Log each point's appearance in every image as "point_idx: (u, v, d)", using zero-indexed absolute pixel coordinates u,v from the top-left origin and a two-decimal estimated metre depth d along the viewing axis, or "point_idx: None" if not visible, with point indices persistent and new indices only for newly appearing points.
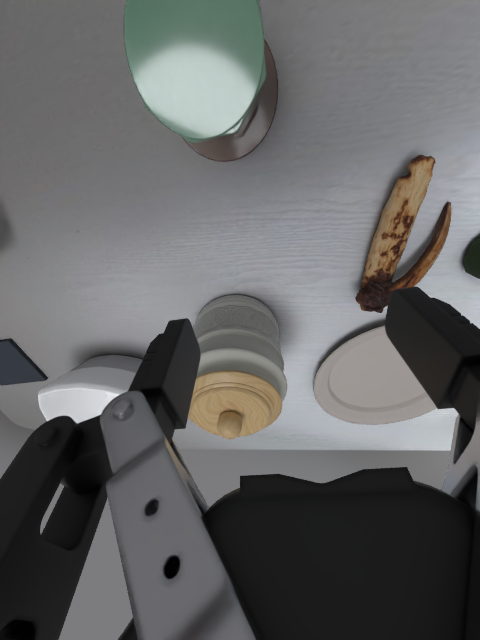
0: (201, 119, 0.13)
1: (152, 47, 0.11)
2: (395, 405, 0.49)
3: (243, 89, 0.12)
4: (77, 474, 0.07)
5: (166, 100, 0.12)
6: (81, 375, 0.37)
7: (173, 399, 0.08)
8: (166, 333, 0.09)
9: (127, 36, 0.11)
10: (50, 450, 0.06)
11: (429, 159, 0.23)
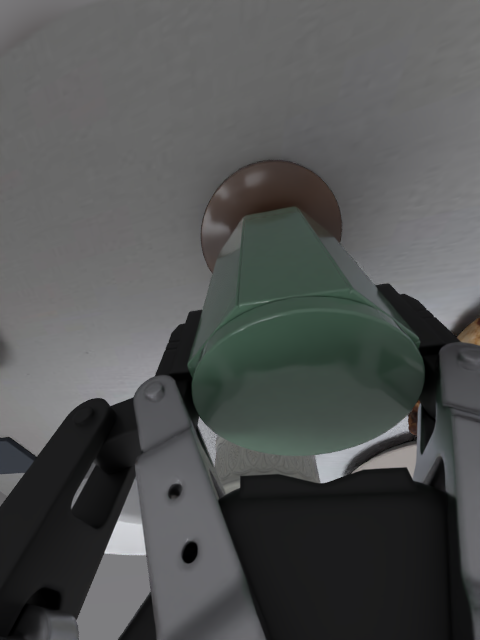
0: (295, 444, 0.09)
1: (235, 396, 0.07)
2: None
3: (369, 429, 0.08)
4: (111, 453, 0.07)
5: (246, 431, 0.08)
6: None
7: None
8: (188, 323, 0.10)
9: (197, 387, 0.07)
10: (86, 430, 0.06)
11: None
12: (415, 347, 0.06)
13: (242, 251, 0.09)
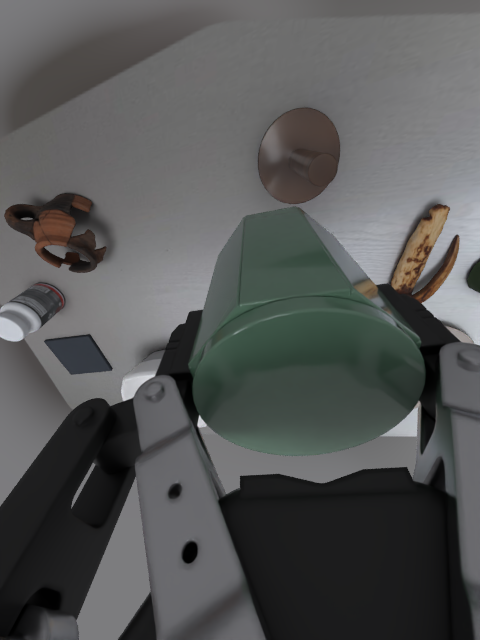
0: (295, 444, 0.09)
1: (236, 396, 0.07)
2: None
3: (370, 429, 0.08)
4: (111, 454, 0.07)
5: (247, 431, 0.08)
6: (157, 365, 0.45)
7: None
8: (188, 323, 0.10)
9: (198, 387, 0.07)
10: (85, 430, 0.06)
11: (445, 207, 0.32)
12: (416, 347, 0.06)
13: (243, 251, 0.09)
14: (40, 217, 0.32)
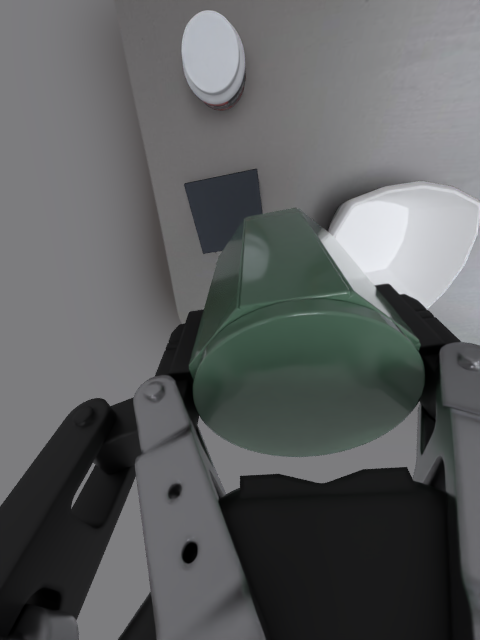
0: (295, 446, 0.09)
1: (236, 397, 0.07)
2: None
3: (369, 430, 0.08)
4: (111, 454, 0.07)
5: (247, 432, 0.08)
6: None
7: None
8: (188, 323, 0.10)
9: (198, 388, 0.07)
10: (85, 431, 0.06)
11: None
12: (415, 349, 0.06)
13: (243, 253, 0.09)
14: None
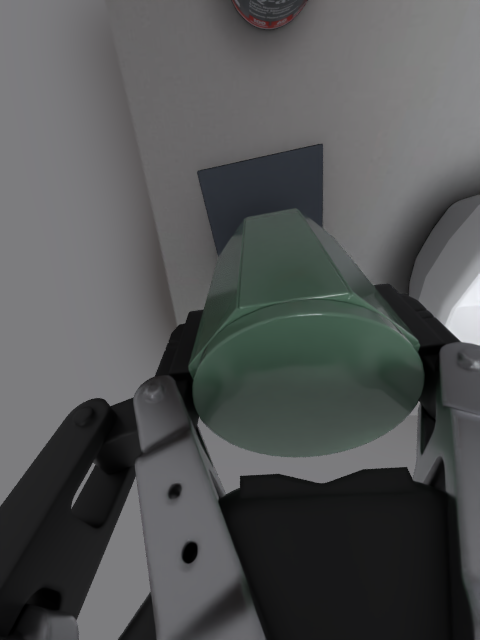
0: (295, 446, 0.09)
1: (236, 398, 0.07)
2: None
3: (369, 431, 0.08)
4: (111, 454, 0.07)
5: (246, 433, 0.08)
6: None
7: None
8: (188, 323, 0.10)
9: (198, 389, 0.07)
10: (85, 431, 0.06)
11: None
12: (414, 350, 0.06)
13: (243, 253, 0.09)
14: None
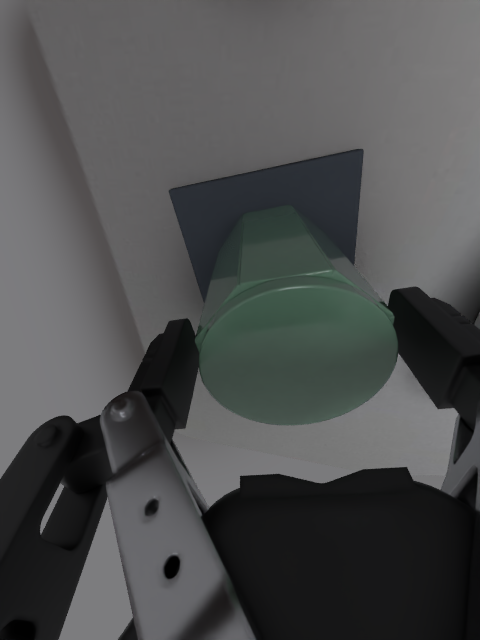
0: (289, 413, 0.10)
1: (237, 366, 0.08)
2: None
3: (354, 397, 0.09)
4: (77, 474, 0.07)
5: (246, 401, 0.09)
6: None
7: (174, 399, 0.08)
8: (166, 333, 0.09)
9: (204, 358, 0.08)
10: (50, 450, 0.06)
11: None
12: (388, 319, 0.07)
13: (242, 243, 0.10)
14: None
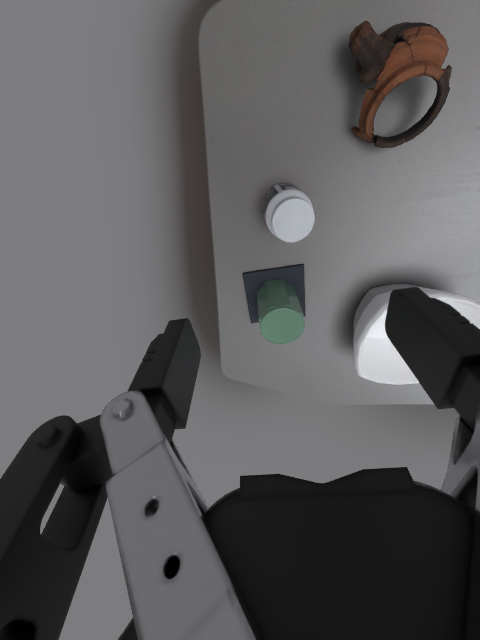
0: (280, 339, 0.37)
1: (269, 325, 0.36)
2: None
3: (296, 334, 0.37)
4: (77, 474, 0.07)
5: (270, 335, 0.37)
6: None
7: (174, 399, 0.08)
8: (166, 333, 0.09)
9: (261, 323, 0.36)
10: (50, 450, 0.06)
11: None
12: (300, 314, 0.35)
13: (268, 295, 0.38)
14: (408, 35, 0.23)
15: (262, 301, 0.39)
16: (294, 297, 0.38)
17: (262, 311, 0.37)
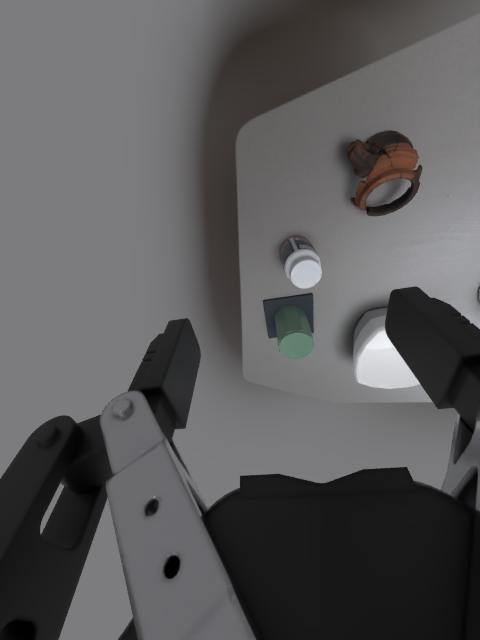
0: (295, 355, 0.48)
1: (286, 345, 0.46)
2: None
3: (307, 351, 0.47)
4: (77, 474, 0.07)
5: (286, 352, 0.47)
6: None
7: (174, 399, 0.08)
8: (166, 333, 0.09)
9: (280, 343, 0.46)
10: (50, 450, 0.06)
11: None
12: (310, 337, 0.45)
13: (285, 320, 0.48)
14: (389, 150, 0.32)
15: (280, 324, 0.49)
16: (305, 321, 0.48)
17: (280, 334, 0.47)
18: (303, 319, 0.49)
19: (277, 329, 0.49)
